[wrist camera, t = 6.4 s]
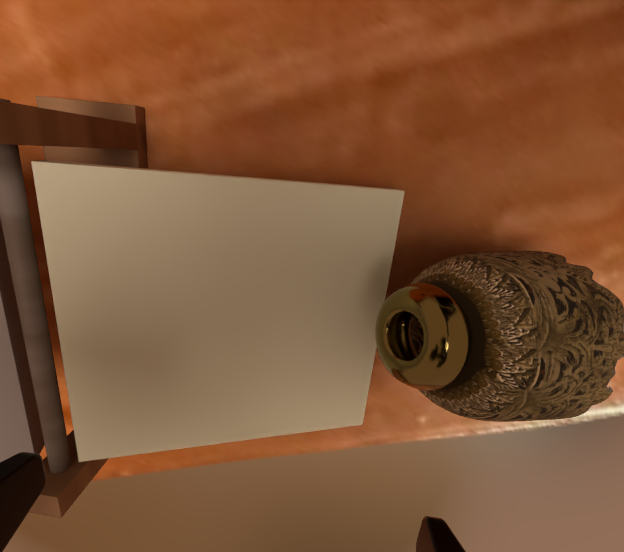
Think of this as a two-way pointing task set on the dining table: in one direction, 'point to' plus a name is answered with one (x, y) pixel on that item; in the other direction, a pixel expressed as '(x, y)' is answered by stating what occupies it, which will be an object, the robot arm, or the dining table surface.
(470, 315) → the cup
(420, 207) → the dining table surface
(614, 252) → the dining table surface
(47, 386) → the post frame
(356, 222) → the trapdoor
